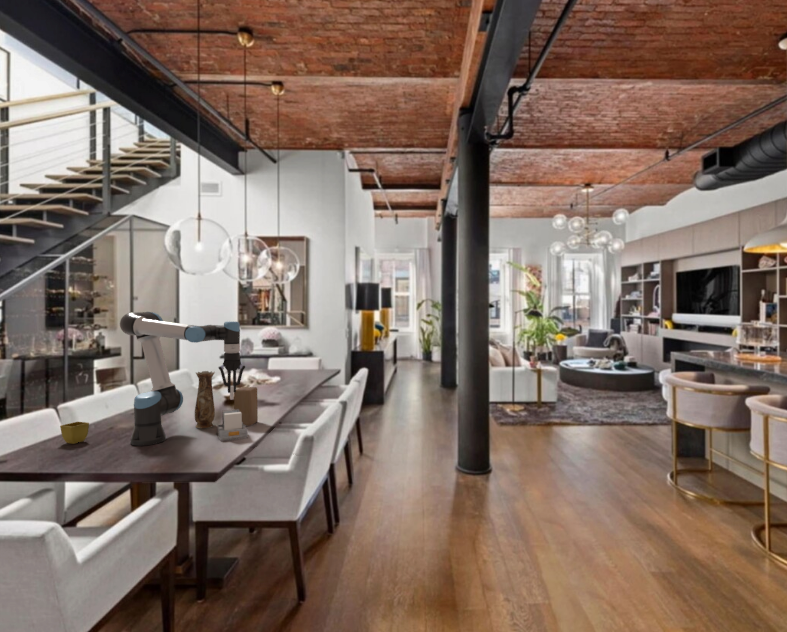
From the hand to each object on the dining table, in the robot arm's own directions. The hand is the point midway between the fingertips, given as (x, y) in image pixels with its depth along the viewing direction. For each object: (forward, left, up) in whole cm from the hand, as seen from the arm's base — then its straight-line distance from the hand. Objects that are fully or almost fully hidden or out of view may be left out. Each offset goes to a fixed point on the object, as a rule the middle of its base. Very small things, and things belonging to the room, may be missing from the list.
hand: (231, 399), depth 230 cm
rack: (0, +3, -19) cm, 19 cm away
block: (+10, +24, -20) cm, 33 cm away
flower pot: (-70, +26, -20) cm, 77 cm away
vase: (-11, +29, -19) cm, 37 cm away
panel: (0, 0, -18) cm, 18 cm away
